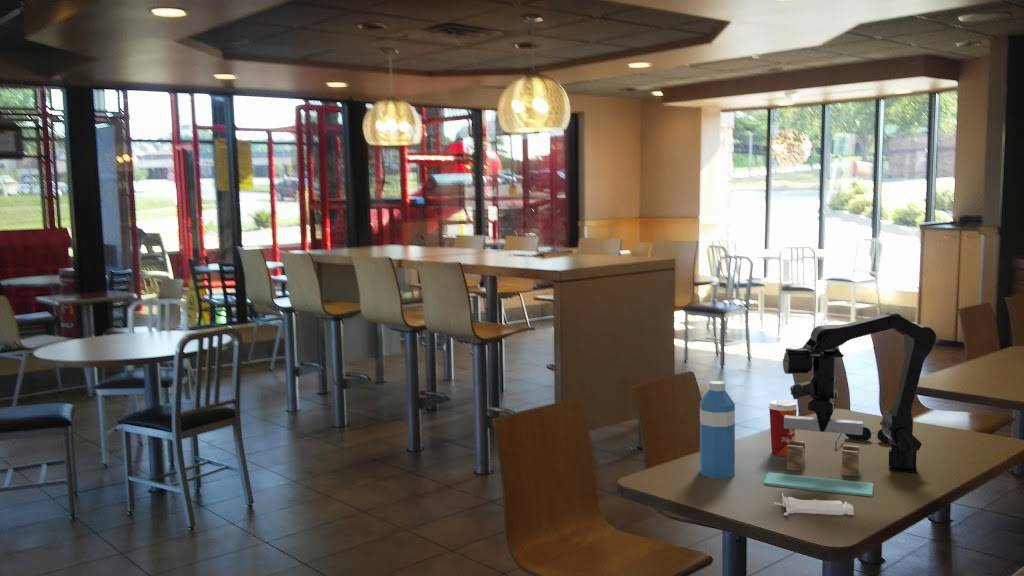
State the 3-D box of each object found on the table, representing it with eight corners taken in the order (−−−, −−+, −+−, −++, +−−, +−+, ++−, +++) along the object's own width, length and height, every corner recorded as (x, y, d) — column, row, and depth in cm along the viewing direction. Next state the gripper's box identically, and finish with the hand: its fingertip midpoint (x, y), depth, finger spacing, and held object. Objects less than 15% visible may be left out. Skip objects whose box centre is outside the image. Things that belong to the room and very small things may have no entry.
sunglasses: (905, 446, 258) (905, 430, 257) (897, 465, 246) (897, 449, 245) (844, 438, 267) (844, 423, 266) (834, 457, 255) (834, 441, 254)
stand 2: (858, 469, 236) (859, 446, 235) (857, 476, 230) (858, 452, 230) (843, 468, 237) (843, 444, 237) (841, 474, 232) (842, 450, 231)
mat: (873, 485, 223) (873, 483, 223) (872, 496, 215) (872, 494, 215) (768, 474, 233) (768, 472, 233) (763, 484, 225) (763, 482, 225)
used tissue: (774, 503, 213) (774, 487, 213) (853, 511, 207) (854, 495, 206) (770, 518, 203) (770, 501, 203) (853, 526, 197) (853, 509, 196)
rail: (862, 432, 233) (863, 421, 233) (862, 435, 230) (862, 424, 230) (785, 425, 241) (785, 415, 241) (783, 428, 238) (783, 417, 238)
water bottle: (737, 470, 238) (738, 380, 235) (731, 480, 229) (731, 387, 227) (703, 466, 242) (703, 378, 239) (696, 476, 233) (695, 384, 231)
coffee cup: (791, 459, 247) (792, 407, 245) (763, 454, 252) (763, 403, 250) (801, 451, 253) (802, 401, 252) (774, 447, 258) (774, 398, 257)
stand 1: (804, 464, 242) (804, 441, 241) (802, 470, 236) (802, 447, 235) (789, 462, 243) (789, 440, 242) (787, 469, 238) (787, 445, 237)
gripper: (796, 365, 246) (795, 419, 247) (788, 378, 229) (787, 436, 230) (838, 367, 241) (837, 422, 243) (833, 380, 224) (832, 440, 226)
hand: (822, 430), depth 236 cm, fingers closed on rail, 3 cm apart
